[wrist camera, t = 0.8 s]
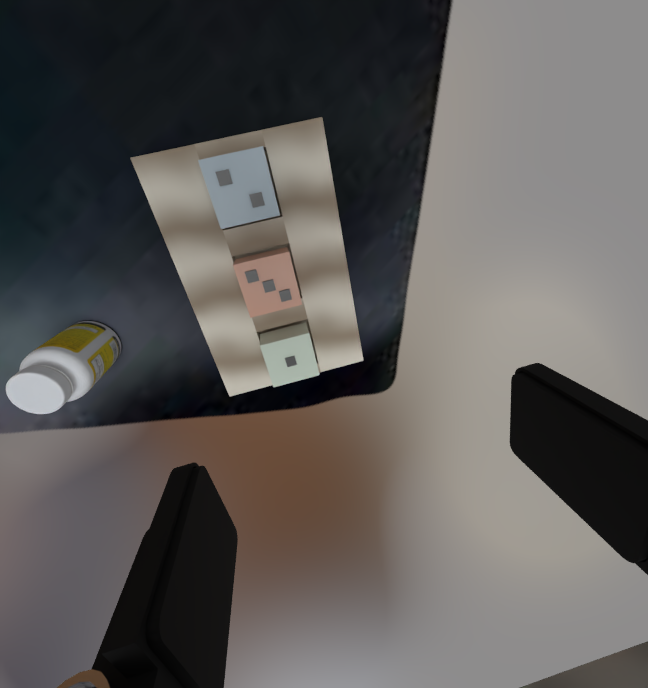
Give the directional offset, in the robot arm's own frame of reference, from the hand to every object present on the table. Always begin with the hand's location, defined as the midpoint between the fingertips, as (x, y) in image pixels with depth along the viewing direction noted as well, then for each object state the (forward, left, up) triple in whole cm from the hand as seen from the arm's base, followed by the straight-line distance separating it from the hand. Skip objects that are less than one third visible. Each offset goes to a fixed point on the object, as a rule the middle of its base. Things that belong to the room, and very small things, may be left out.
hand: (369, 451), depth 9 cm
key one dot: (+8, -3, -25) cm, 26 cm away
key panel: (0, -3, -28) cm, 28 cm away
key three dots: (0, -3, -25) cm, 25 cm away
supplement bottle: (+3, -23, -28) cm, 36 cm away
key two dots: (-8, -3, -25) cm, 26 cm away
